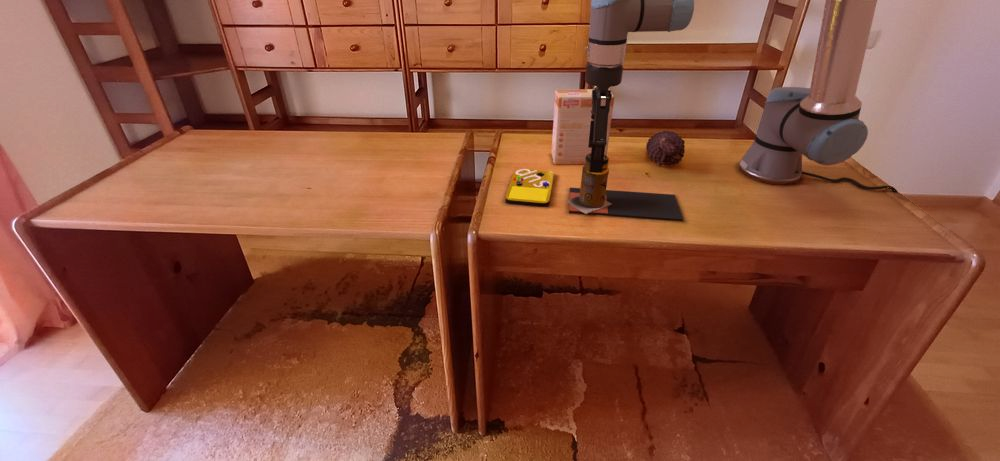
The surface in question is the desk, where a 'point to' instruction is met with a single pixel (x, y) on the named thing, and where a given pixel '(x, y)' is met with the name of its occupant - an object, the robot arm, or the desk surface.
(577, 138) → the coffeecake box
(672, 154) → the pine cone
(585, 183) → the condiment
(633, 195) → the desk mat
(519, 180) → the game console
